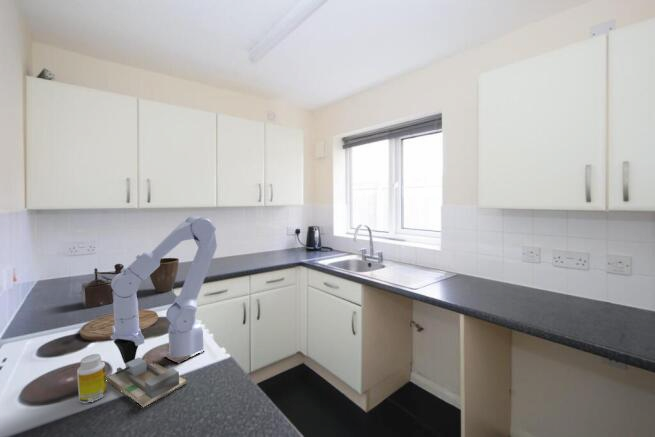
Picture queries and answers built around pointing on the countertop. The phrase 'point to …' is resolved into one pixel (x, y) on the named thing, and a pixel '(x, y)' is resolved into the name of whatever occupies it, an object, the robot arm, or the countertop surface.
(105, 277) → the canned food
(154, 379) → the gauge base
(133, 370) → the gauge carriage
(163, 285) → the plant pot
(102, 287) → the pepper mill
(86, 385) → the supplement bottle
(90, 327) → the trivet
